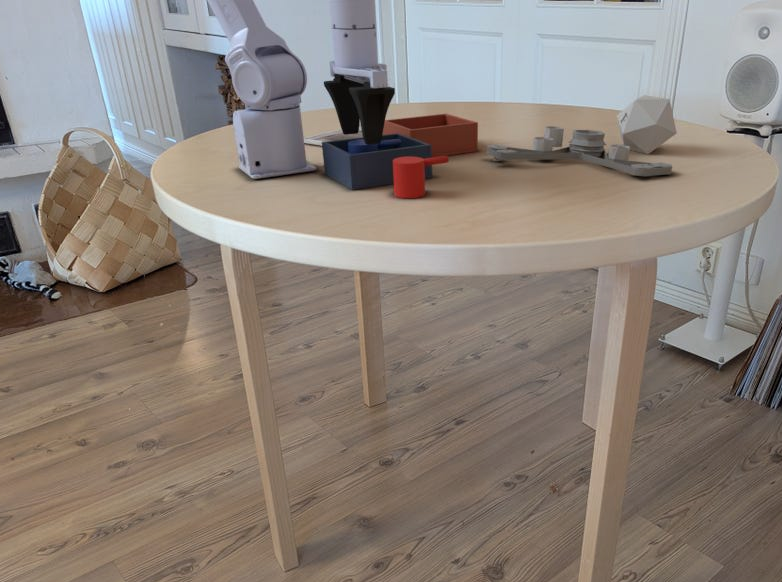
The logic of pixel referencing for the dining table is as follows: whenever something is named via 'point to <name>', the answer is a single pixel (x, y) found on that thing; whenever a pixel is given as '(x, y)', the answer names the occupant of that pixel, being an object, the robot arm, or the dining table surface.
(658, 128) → the die
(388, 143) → the blue scoop
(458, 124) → the red bin
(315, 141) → the grey striped panel
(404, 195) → the red scoop
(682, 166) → the dining table surface
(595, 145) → the pulley system
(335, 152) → the blue bin
